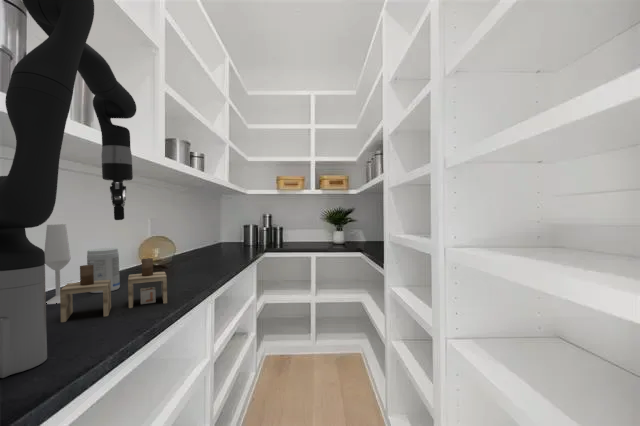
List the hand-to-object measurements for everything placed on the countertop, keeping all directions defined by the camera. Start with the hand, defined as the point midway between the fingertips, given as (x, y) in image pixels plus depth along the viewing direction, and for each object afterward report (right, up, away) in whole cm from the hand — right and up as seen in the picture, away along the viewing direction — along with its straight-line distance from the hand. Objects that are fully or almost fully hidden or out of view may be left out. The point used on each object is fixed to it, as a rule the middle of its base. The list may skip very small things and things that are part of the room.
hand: (119, 219), depth 99 cm
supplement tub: (-19, -26, +23) cm, 40 cm away
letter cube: (+6, -25, +5) cm, 26 cm away
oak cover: (+6, -25, +5) cm, 26 cm away
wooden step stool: (-4, -25, -7) cm, 26 cm away
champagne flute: (-24, -26, +9) cm, 36 cm away
